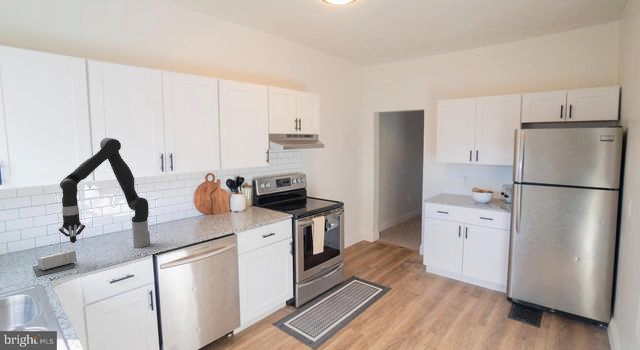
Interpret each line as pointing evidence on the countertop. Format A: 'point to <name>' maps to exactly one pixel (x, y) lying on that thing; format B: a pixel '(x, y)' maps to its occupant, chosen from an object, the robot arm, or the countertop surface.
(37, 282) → the countertop surface
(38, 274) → the mat
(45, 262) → the skincare box
